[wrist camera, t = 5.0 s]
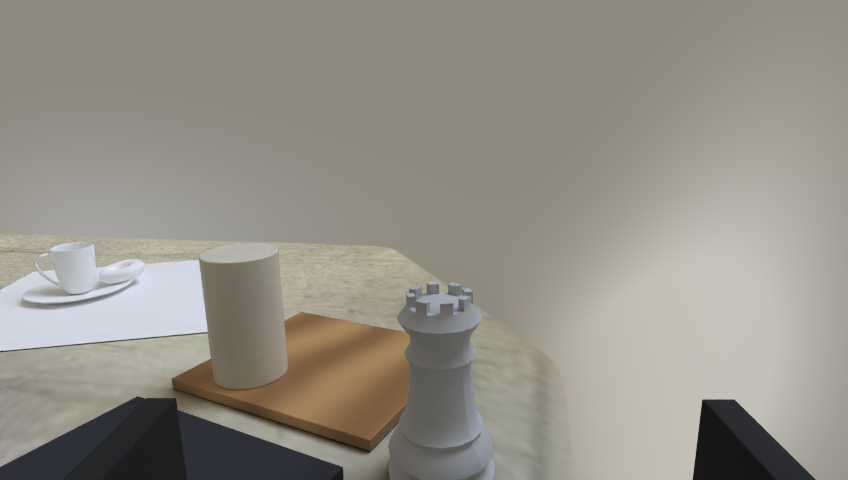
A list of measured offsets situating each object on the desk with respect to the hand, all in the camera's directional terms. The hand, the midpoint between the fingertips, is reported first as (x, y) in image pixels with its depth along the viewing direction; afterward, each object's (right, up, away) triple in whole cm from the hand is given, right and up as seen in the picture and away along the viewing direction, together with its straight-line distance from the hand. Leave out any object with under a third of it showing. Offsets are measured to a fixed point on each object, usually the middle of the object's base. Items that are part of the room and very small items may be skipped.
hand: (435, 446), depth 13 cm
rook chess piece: (0, -5, +9) cm, 10 cm away
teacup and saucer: (-27, 0, +31) cm, 41 cm away
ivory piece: (-10, -2, +16) cm, 19 cm away
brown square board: (-6, -2, +18) cm, 19 cm away
